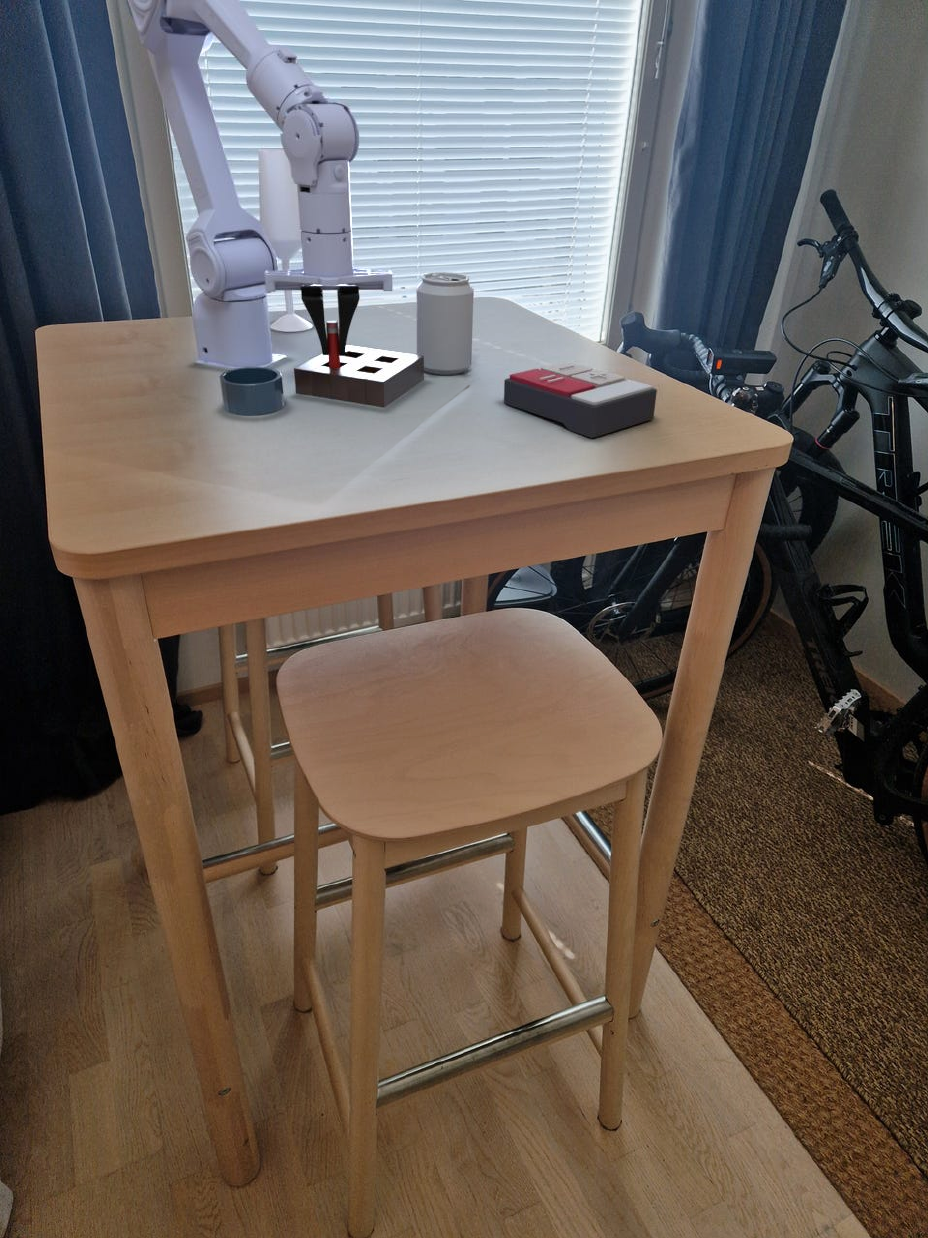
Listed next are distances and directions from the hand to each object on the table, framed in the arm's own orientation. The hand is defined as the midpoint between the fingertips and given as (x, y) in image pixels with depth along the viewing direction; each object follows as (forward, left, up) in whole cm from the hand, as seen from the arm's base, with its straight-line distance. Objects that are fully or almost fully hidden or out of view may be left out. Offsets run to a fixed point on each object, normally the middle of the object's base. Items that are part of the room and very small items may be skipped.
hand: (333, 352), depth 97 cm
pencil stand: (+2, +2, -5) cm, 6 cm away
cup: (-6, -10, -5) cm, 12 cm away
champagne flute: (-22, +25, -5) cm, 34 cm away
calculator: (+29, +6, -5) cm, 30 cm away
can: (+8, +15, -5) cm, 18 cm away
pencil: (0, 0, -4) cm, 4 cm away
